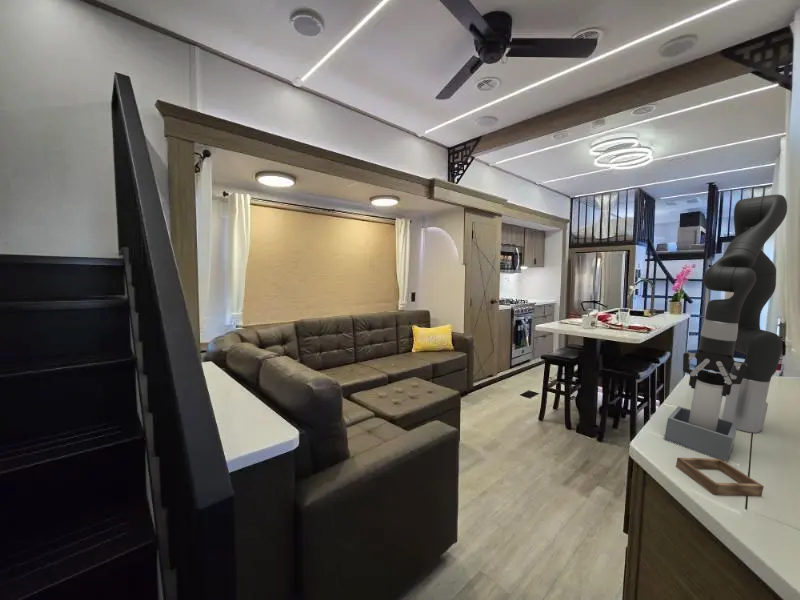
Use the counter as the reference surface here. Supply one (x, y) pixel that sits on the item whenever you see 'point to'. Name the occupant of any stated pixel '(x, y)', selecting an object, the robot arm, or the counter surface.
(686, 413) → the gray bin
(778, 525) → the counter surface
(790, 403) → the counter surface
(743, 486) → the walnut holder
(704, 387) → the travel mug
